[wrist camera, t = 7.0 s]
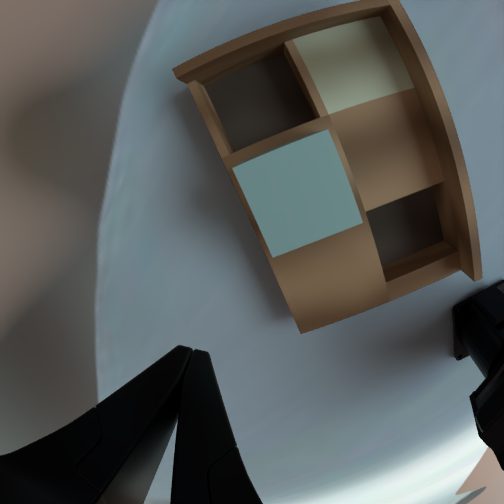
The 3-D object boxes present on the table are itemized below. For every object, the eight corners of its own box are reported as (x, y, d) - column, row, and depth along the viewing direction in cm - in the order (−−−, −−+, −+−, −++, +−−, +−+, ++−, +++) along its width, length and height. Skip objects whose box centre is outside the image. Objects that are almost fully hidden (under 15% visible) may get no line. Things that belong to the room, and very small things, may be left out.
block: (345, 204, 17) (362, 222, 14) (273, 232, 18) (272, 257, 15) (316, 131, 16) (327, 128, 12) (242, 161, 17) (232, 168, 13)
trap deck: (452, 253, 20) (482, 277, 16) (299, 314, 23) (302, 351, 19) (373, 19, 15) (395, -6, 11) (194, 82, 18) (172, 69, 13)
